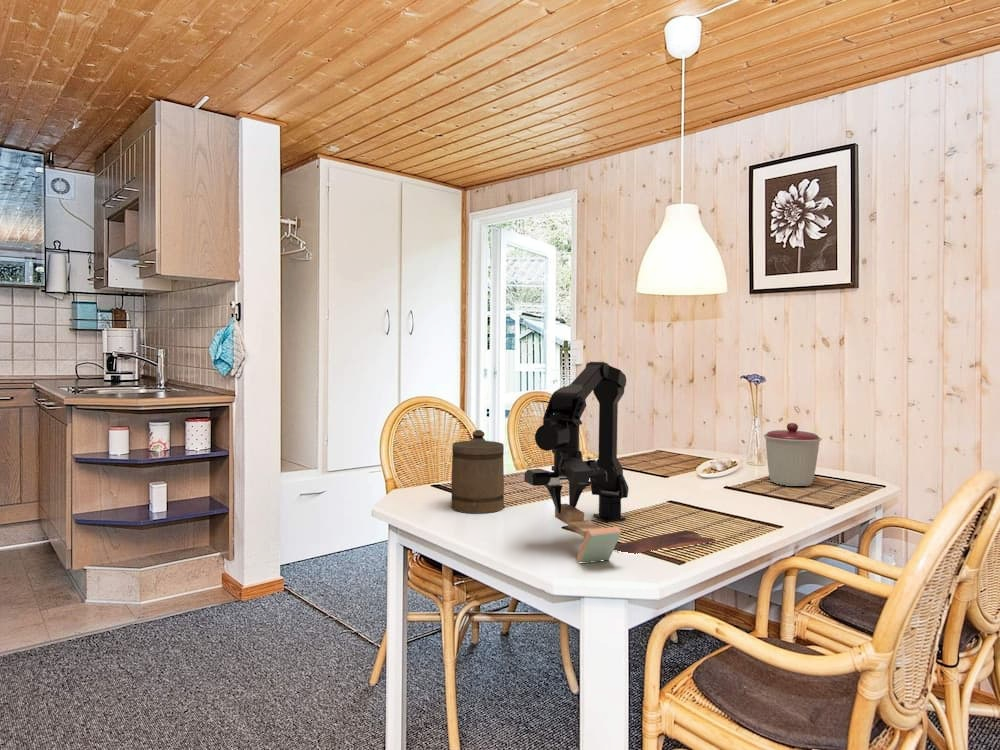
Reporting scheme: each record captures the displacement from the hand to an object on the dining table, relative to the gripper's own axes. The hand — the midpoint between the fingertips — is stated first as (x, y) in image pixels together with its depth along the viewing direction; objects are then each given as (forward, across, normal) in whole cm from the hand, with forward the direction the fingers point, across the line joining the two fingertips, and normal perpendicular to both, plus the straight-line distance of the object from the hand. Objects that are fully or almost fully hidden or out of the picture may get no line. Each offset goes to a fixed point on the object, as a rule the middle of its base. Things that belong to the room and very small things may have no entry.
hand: (565, 512), depth 150 cm
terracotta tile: (+7, 0, -13) cm, 15 cm away
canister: (+7, +103, +38) cm, 110 cm away
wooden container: (+7, -9, +39) cm, 40 cm away
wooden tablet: (+8, +21, -7) cm, 24 cm away
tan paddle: (+2, 0, -6) cm, 6 cm away
